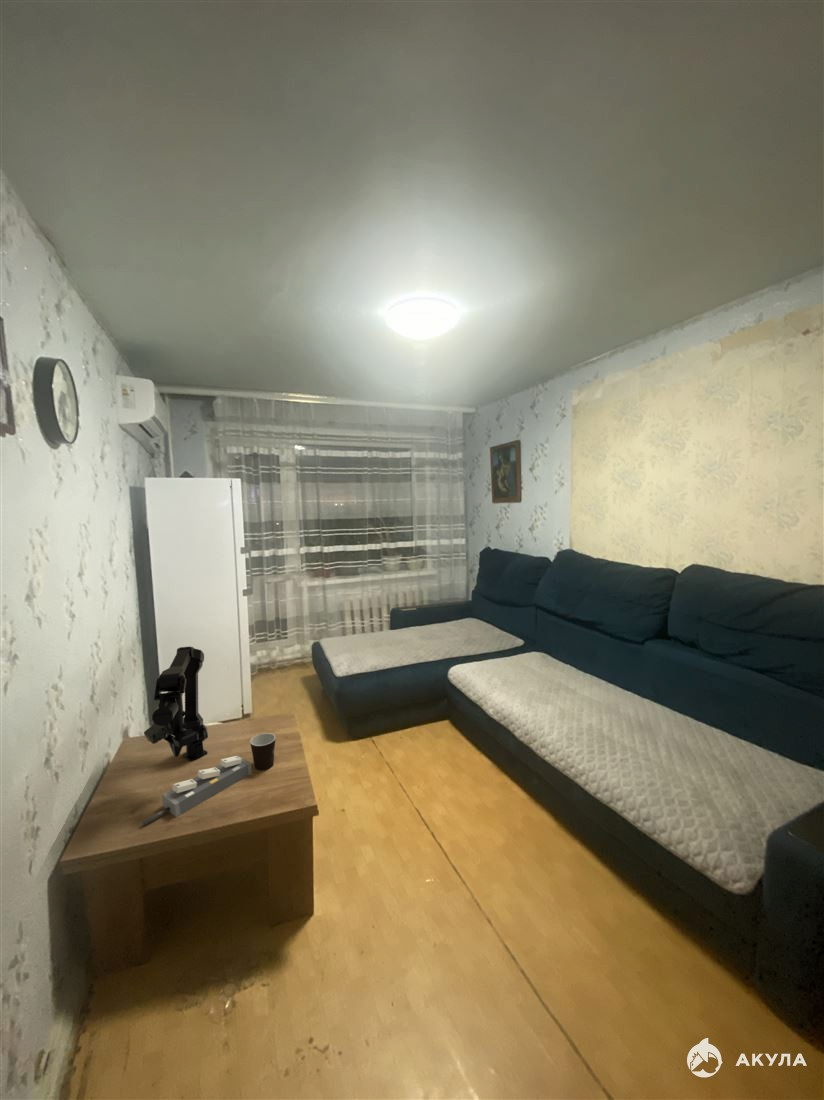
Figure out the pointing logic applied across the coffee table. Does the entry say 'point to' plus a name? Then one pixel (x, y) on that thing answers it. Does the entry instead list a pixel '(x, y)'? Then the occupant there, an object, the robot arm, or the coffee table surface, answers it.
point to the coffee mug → (263, 751)
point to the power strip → (202, 790)
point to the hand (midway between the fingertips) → (176, 756)
